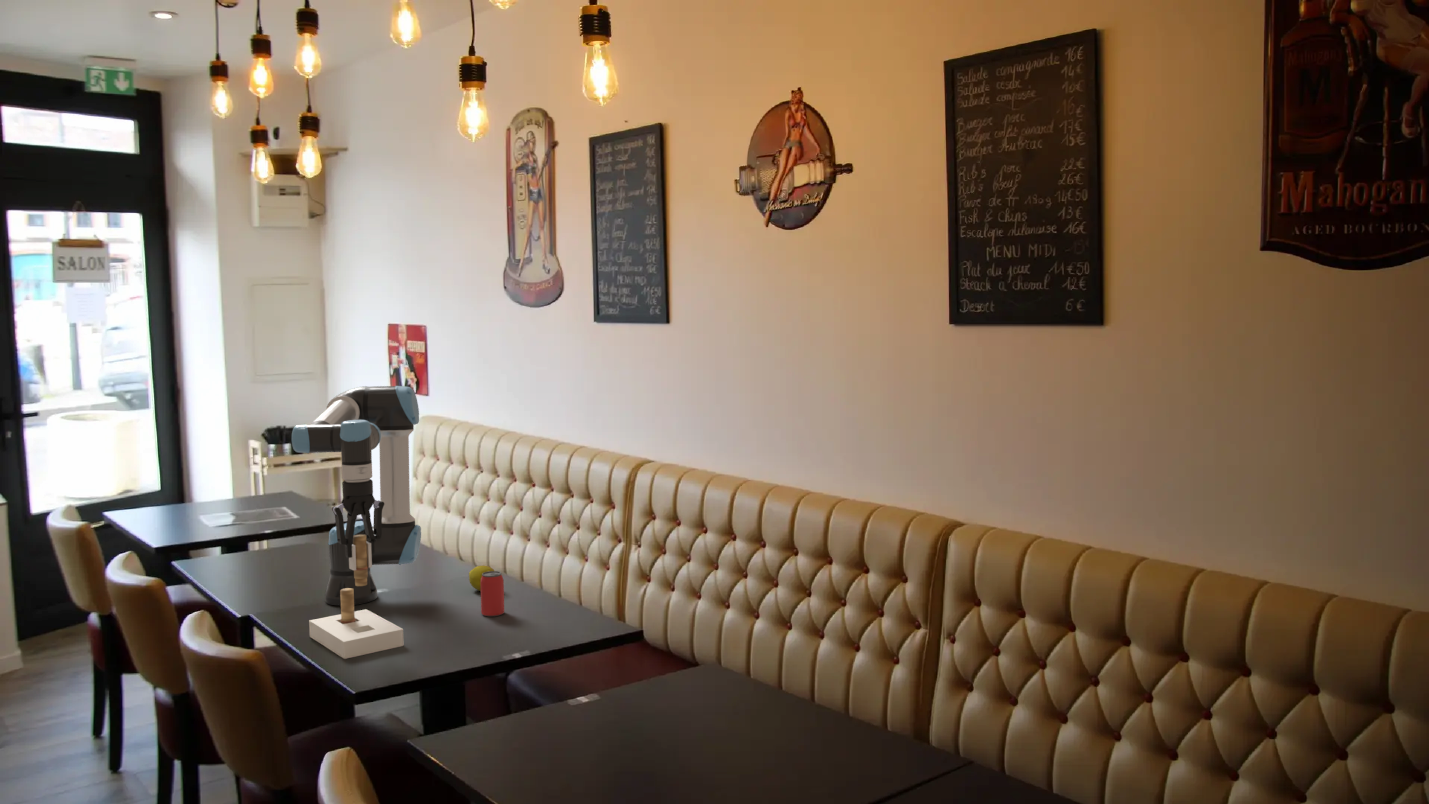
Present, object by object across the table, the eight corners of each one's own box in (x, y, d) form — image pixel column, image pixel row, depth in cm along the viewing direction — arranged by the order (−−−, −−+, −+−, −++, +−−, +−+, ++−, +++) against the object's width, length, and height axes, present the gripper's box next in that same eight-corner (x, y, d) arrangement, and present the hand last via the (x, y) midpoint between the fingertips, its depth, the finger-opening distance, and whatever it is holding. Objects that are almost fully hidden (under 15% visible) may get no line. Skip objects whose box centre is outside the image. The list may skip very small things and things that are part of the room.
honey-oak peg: (365, 582, 290) (363, 533, 289) (370, 584, 288) (368, 536, 286) (351, 584, 288) (350, 535, 287) (357, 587, 285) (355, 538, 284)
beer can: (499, 617, 314) (498, 576, 313) (477, 616, 315) (476, 575, 314) (507, 611, 320) (506, 571, 319) (486, 610, 321) (485, 570, 320)
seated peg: (352, 633, 300) (350, 587, 298) (357, 636, 297) (356, 590, 296) (339, 636, 297) (337, 589, 296) (344, 639, 295) (342, 592, 293)
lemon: (503, 592, 341) (502, 566, 340) (481, 596, 336) (480, 571, 335) (485, 585, 349) (485, 560, 348) (463, 589, 344) (463, 564, 343)
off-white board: (366, 624, 308) (366, 609, 307) (403, 645, 289) (403, 629, 289) (309, 636, 297) (309, 620, 297) (344, 659, 279) (343, 641, 279)
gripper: (331, 485, 277) (334, 576, 279) (393, 477, 288) (396, 565, 290) (320, 481, 283) (323, 570, 285) (381, 474, 293) (384, 560, 296)
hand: (360, 567), depth 287 cm, fingers closed on honey-oak peg, 3 cm apart
